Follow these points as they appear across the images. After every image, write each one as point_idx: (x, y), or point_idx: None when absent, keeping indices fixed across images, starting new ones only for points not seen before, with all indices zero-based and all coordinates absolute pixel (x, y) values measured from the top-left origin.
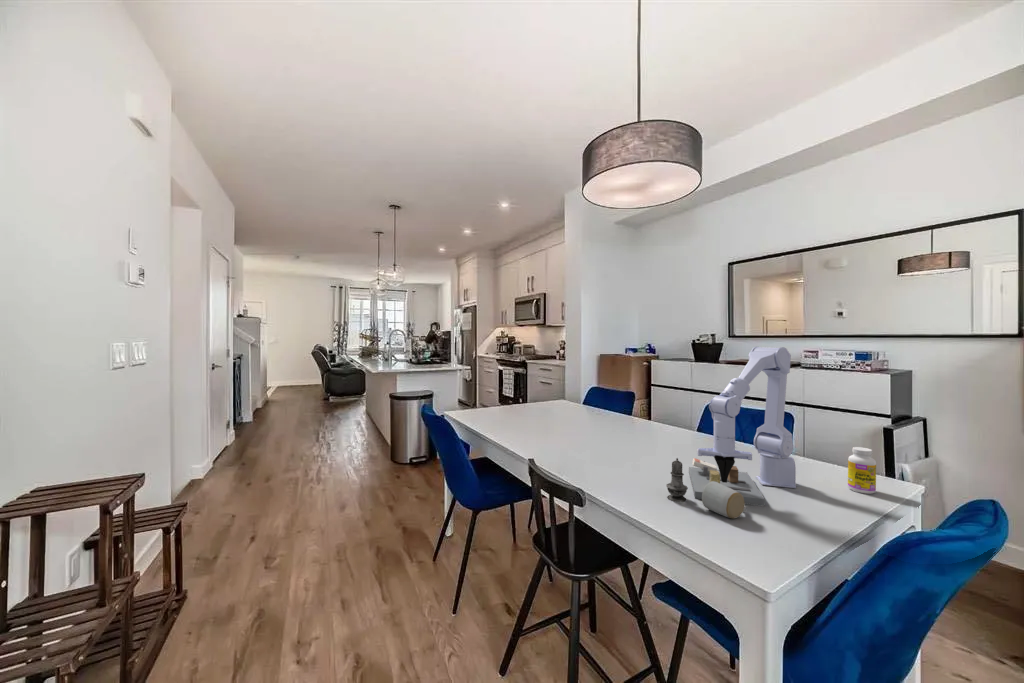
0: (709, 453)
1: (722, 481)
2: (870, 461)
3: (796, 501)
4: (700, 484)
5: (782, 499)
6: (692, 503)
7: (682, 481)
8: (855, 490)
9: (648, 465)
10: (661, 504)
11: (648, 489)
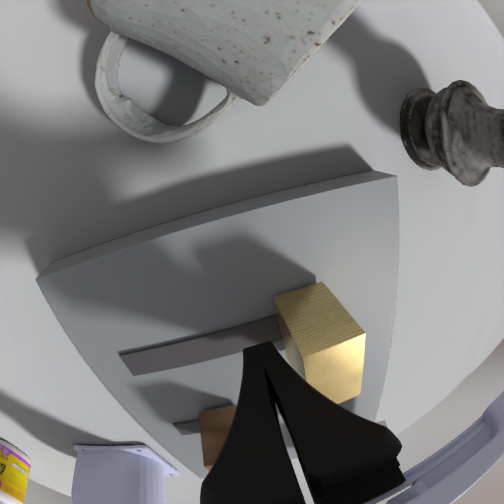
0: (474, 458)
1: (270, 342)
2: None
3: (19, 368)
4: (367, 304)
5: (47, 369)
6: (374, 92)
7: (484, 130)
8: (10, 446)
9: (446, 380)
10: (449, 51)
11: (488, 188)
